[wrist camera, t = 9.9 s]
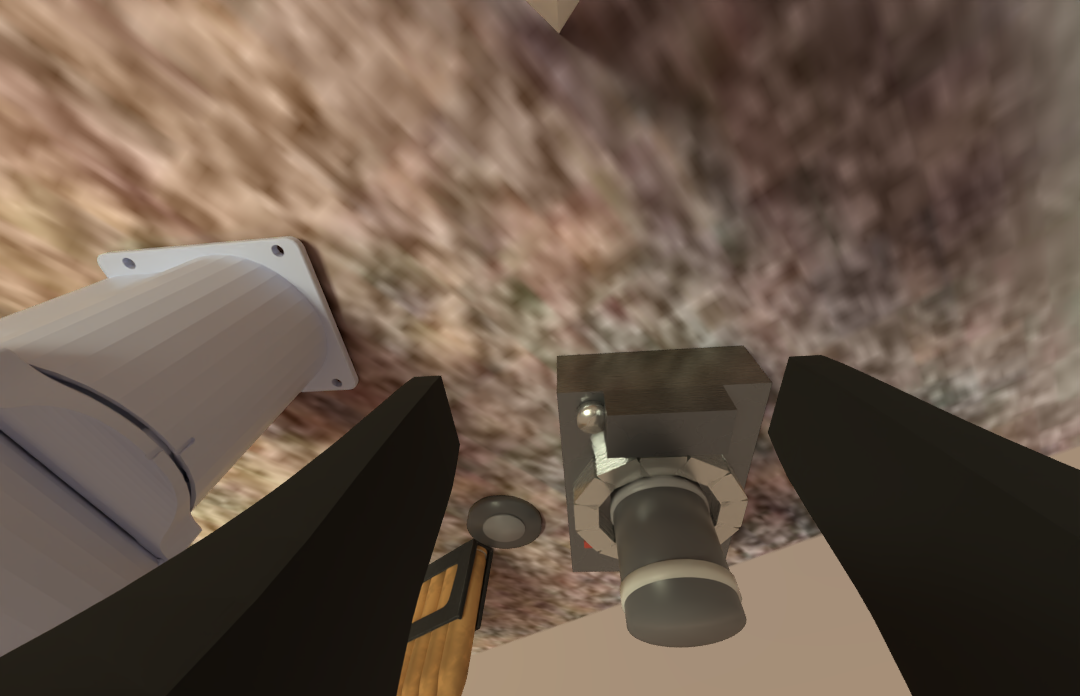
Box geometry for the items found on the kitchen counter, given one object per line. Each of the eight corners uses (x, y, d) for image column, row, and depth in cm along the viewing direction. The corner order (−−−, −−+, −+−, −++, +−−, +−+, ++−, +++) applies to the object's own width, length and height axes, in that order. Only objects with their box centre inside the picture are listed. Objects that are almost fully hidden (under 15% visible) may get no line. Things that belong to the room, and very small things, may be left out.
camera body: (571, 527, 27) (573, 599, 23) (557, 356, 20) (556, 417, 16) (706, 524, 26) (732, 598, 22) (743, 345, 19) (791, 407, 15)
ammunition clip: (475, 537, 28) (427, 784, 18) (494, 548, 29) (459, 793, 18) (389, 587, 32) (310, 811, 22) (407, 596, 33) (339, 818, 22)
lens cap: (481, 542, 29) (479, 555, 28) (458, 498, 26) (455, 511, 25) (548, 532, 28) (548, 546, 27) (531, 486, 25) (531, 499, 25)
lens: (609, 517, 21) (625, 648, 16) (605, 462, 19) (623, 598, 14) (696, 512, 21) (739, 647, 16) (704, 455, 18) (759, 595, 13)
